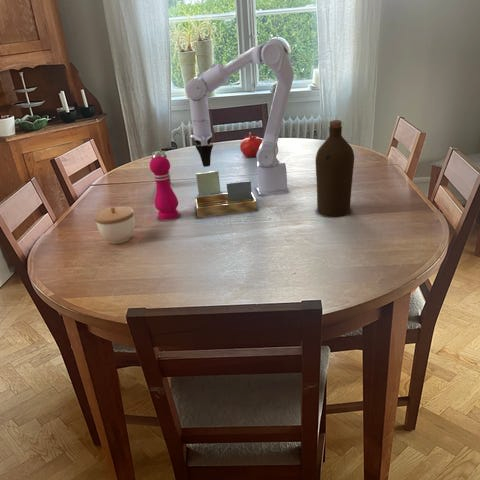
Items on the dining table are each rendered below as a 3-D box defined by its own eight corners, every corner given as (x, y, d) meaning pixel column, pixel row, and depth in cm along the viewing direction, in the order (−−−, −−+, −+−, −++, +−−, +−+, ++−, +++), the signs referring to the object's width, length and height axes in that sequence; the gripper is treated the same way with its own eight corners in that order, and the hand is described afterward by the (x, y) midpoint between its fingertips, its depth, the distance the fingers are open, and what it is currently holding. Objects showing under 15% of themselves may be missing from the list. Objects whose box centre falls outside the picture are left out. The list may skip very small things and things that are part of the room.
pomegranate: (264, 157, 198) (263, 134, 193) (240, 159, 198) (238, 136, 193) (264, 151, 206) (262, 128, 201) (241, 153, 206) (239, 130, 201)
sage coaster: (220, 192, 165) (218, 170, 161) (220, 193, 164) (218, 171, 160) (198, 195, 164) (195, 173, 160) (198, 196, 164) (196, 174, 159)
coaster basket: (252, 199, 156) (251, 190, 154) (256, 211, 147) (256, 201, 145) (196, 206, 155) (194, 197, 153) (197, 218, 146) (196, 208, 144)
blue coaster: (252, 203, 151) (250, 180, 147) (252, 204, 151) (250, 181, 147) (228, 206, 151) (226, 183, 147) (228, 207, 150) (226, 184, 146)
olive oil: (355, 216, 137) (359, 123, 123) (317, 219, 137) (318, 127, 124) (348, 203, 146) (351, 115, 132) (313, 206, 146) (313, 119, 133)
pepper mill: (184, 213, 151) (174, 147, 140) (174, 221, 145) (163, 154, 134) (163, 212, 153) (152, 147, 142) (153, 220, 147) (140, 154, 137)
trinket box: (120, 249, 131) (112, 216, 126) (93, 243, 136) (84, 212, 131) (146, 234, 139) (139, 203, 134) (119, 229, 144) (112, 199, 139)
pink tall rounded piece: (160, 189, 174) (154, 155, 167) (154, 186, 177) (148, 152, 171) (173, 185, 176) (168, 152, 169) (167, 182, 180) (161, 149, 173)
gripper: (187, 117, 158) (193, 159, 166) (189, 125, 146) (195, 170, 153) (208, 114, 158) (213, 156, 166) (211, 123, 146) (216, 167, 154)
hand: (206, 163), depth 160 cm, fingers open, 7 cm apart
